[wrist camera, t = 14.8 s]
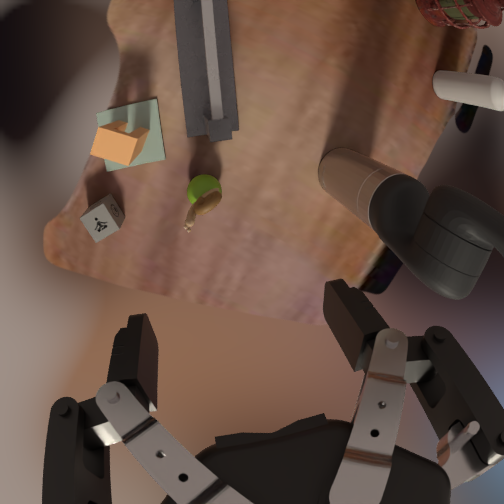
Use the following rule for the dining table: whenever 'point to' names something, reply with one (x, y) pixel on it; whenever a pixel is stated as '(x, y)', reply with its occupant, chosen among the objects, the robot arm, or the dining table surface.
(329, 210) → the dining table surface
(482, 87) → the bottle
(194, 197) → the snail figurine
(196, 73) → the rail stand
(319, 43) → the dining table surface
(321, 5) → the dining table surface
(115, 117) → the felt mat
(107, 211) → the dice cube
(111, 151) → the c link
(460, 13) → the lantern
